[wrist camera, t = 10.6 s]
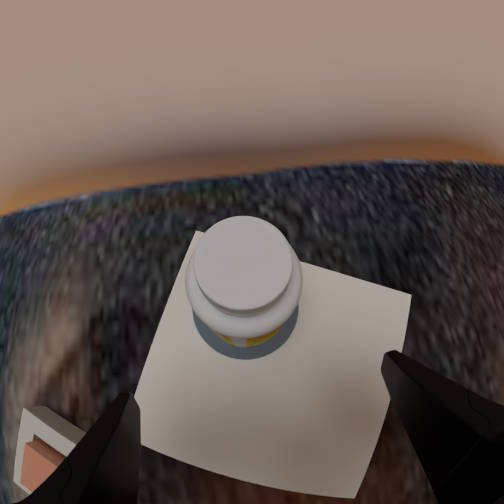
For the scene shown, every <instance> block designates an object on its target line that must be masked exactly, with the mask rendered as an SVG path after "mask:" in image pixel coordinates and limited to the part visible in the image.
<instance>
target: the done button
mask: <svg viewBox="0 0 504 504" xmlns="http://www.w3.org/2000/svg"><path fill="white" fill-rule="evenodd" d="M65 458H66V456H65V455H63V454H62V453H60V452H59V451H57V450H56V449H54V448H53V447H52V446H50V445H49V444H47V443H46V442H45V441H43V440H42V439H40V440H36V441H31V442H26V443H25V447H24V454H23V462H22V471H21V482H20V483H21V484H22V485H23V486H25V487H26V488H27V489H28V490H30V491H31V492H33V491H34V490H35V489H36V488H37V487H38V486H39V485H40V484H42V483H43V482H44V481H45V480H46V479H47V478H48V477H49V476H50V475H51V474H52V473H53V472H54V471H55V469H56V468H57V467H58V466H59V465H60V464H61V463H62V461H63V460H64V459H65Z"/></svg>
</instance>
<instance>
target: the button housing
mask: <svg viewBox="0 0 504 504" xmlns="http://www.w3.org/2000/svg"><path fill="white" fill-rule="evenodd" d="M85 434H86V432H84V431H83V430H81V429H79V428H78V427H76V426H75V425H73V424H71V423H70V422H68V421H67V420H65V419H64V418H62V417H61V416H59V415H58V414H56V413H55V412H53V411H52V410H50V409H49V408H47V407H46V406H36V407H24V408H23V413H22V418H21V424H20V430H19V436H18V443H17V450H16V458H15V468H14V482H15V483H16V484H17V485H18V486H20V487H21V488H22V489H23V490H25V491H26V492H27V493H28V494H31V493H32V492H31V491H30V490H28V489H27V488H26V487H25V486H23V485H22V484H21V483H20V482H21V471H22V462H23V454H24V447H25V443H26V442H31V441H36V440H40V439H42V440H43V441H45V442H46V443H47V444H49V445H50V446H52V447H53V448H54V449H56V450H57V451H59V452H60V453H62V454H63V455H65V456H66V457H68V454H69V453H70V452H71V451H72V449H73V448H74V447H75V446H76V445H77V443H78V442H79V441H80V440H81V439H82V437H83V436H84V435H85Z"/></svg>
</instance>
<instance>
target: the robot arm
mask: <svg viewBox="0 0 504 504" xmlns="http://www.w3.org/2000/svg"><path fill="white" fill-rule="evenodd" d="M381 374H382V377H383V379H384V382H385V385H386V387H387V390H388V393H389V396H390V398H391V401H392V404H393V406H394V408H395V411H396V413H397V415H398V417H399V419H400V421H401V423H402V425H403V427H404V429H405V431H406V433H407V435H408V437H409V439H410V441H411V443H412V445H413V448H414V450H415V452H416V454H417V456H418V458H419V460H420V463H421V465H422V467H423V469H424V471H425V474H426V476H427V478H428V480H429V482H430V485H431V487H432V489H433V492H434V494H435V497H436V499H437V501H438V504H504V406H503V405H500V404H498V403H495V402H493V401H491V400H488V399H486V398H484V397H482V396H480V395H478V394H476V393H474V392H472V391H470V390H467V389H466V388H465V387H463V386H461V385H459V384H457V383H455V382H453V381H452V380H450V379H448V378H446V377H444V376H442V375H441V374H439V373H437V372H435V371H433V370H431V369H430V368H428V367H426V366H424V365H422V364H420V363H419V362H417V361H415V360H413V359H411V358H410V357H408V356H406V355H404V354H402V353H401V352H399V351H397V350H391V351H388V352H385V354H384V356H383V361H382V365H381ZM140 454H141V420H140V407H139V405H138V403H137V402H136V400H135V398H134V396H133V395H132V394H131V393H120V394H119V395H118V396H117V397H116V398H115V399H114V401H113V402H112V403H111V404H110V405H109V407H108V408H107V409H106V410H105V411H104V412H103V414H102V415H101V416H100V417H99V418H98V420H97V421H96V422H95V423H94V424H93V426H92V427H91V428H90V429H89V430H88V432H87V433H86V434H85V435H84V436H83V437H82V439H81V440H80V441H79V442H78V443H77V445H76V446H75V447H74V448H73V449H72V451H71V452H70V453H69V454H68V457H66V458H65V459H64V460H63V461H62V463H61V464H60V465H59V466H58V467H57V468H56V469H55V471H54V472H53V473H52V474H51V475H50V476H49V477H48V478H47V479H46V480H45V481H44V482H43V483H42V484H40V485H39V486H38V487H37V488H36V489H35V490H34V491H33V492H32V493H31V494H30V495H29V496H28V497H26V498H25V499H24V500H22V501H20V502H17V503H13V504H137V494H138V479H139V466H140Z"/></svg>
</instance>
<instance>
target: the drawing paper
mask: <svg viewBox="0 0 504 504" xmlns="http://www.w3.org/2000/svg"><path fill="white" fill-rule="evenodd" d="M204 234H205V233H203V232H199V231H196V232H195V234H194V237H193V239H192V242H191V244H190V246H189V249H188V251H187V254H186V256H185V259H184V261H183V264H182V266H181V269H180V271H179V274H178V276H177V279H176V281H175V284H174V286H173V289H172V292H171V294H170V297H169V299H168V302H167V305H166V307H165V310H164V313H163V315H162V318H161V321H160V323H159V326H158V329H157V332H156V334H155V337H154V340H153V343H152V346H151V349H150V351H149V354H148V357H147V360H146V363H145V366H144V369H143V372H142V375H141V378H140V381H139V384H138V387H137V390H136V393H135V396H134V398H135V400H136V402H137V403H138V405H139V407H140V420H141V444H142V445H144V446H146V447H148V448H151V449H153V450H155V451H158V452H160V453H162V454H165V455H167V456H170V457H172V458H175V459H177V460H180V461H183V462H185V463H188V464H191V465H194V466H197V467H200V468H202V469H205V470H209V471H212V472H215V473H218V474H221V475H225V476H228V477H232V478H235V479H239V480H243V481H247V482H251V483H255V484H259V485H263V486H268V487H273V488H278V489H283V490H288V491H294V492H300V493H306V494H313V495H321V496H330V497H340V498H353V499H355V496H356V494H357V492H358V490H359V487H360V485H361V483H362V480H363V478H364V475H365V473H366V470H367V468H368V465H369V463H370V460H371V457H372V454H373V452H374V449H375V446H376V443H377V440H378V437H379V434H380V431H381V428H382V425H383V422H384V419H385V415H386V412H387V409H388V405H389V402H390V396H389V393H388V390H387V387H386V385H385V382H384V379H383V377H382V374H381V365H382V361H383V356H384V354H385V352H388V351H391V350H397V351H399V352H401V353H402V348H403V343H404V338H405V332H406V327H407V321H408V315H409V308H410V302H411V295H410V294H407V293H404V292H400V291H397V290H394V289H390V288H387V287H384V286H380V285H377V284H374V283H370V282H367V281H364V280H360V279H357V278H354V277H351V276H347V275H344V274H341V273H337V272H334V271H331V270H327V269H324V268H321V267H317V266H314V265H310V264H307V263H304V262H300V261H299V262H300V265H301V269H302V276H303V286H302V292H301V296H300V299H299V302H298V304H297V306H296V308H295V310H294V312H293V313H292V315H291V316H290V317H289V318H288V320H287V321H286V322H285V323H284V325H283V326H282V327H281V328H280V330H279V331H278V332H277V333H276V334H275V335H274V336H273V337H272V338H271V339H270V340H268V341H267V342H265V343H263V344H261V345H258V346H254V347H237V346H233V345H230V344H228V343H226V342H224V341H223V340H221V339H220V338H219V337H217V336H216V335H215V334H214V333H213V332H212V331H211V330H210V329H209V328H208V327H207V326H206V325H205V324H204V323H203V322H202V321H201V320H200V319H199V318H198V316H197V315H196V313H195V312H194V310H193V309H192V307H191V305H190V303H189V300H188V297H187V293H186V288H185V274H186V269H187V265H188V262H189V260H190V257H191V255H192V253H193V252H194V250H195V249H196V247H197V244H198V242H199V241H200V239H201V237H202V236H203V235H204Z"/></svg>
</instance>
